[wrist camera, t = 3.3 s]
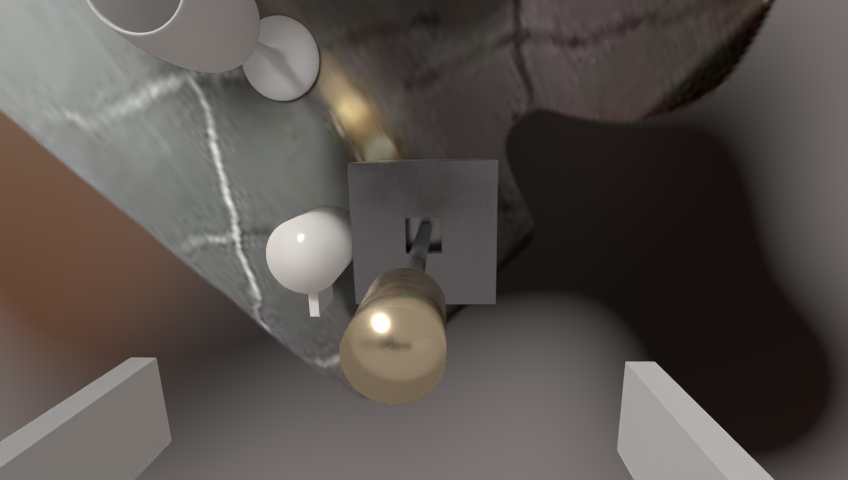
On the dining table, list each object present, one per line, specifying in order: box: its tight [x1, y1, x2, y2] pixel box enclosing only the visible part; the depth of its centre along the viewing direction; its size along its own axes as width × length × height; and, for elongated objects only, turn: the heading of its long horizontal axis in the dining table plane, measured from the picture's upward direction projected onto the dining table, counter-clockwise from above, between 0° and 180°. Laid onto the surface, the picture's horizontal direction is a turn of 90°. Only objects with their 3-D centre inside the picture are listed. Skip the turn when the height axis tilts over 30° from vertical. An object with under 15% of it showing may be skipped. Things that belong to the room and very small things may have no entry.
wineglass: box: [87, 0, 319, 101], centre depth 33 cm, size 9×9×21 cm
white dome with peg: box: [266, 206, 353, 316], centre depth 43 cm, size 8×11×9 cm
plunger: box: [340, 218, 446, 405], centre depth 24 cm, size 9×9×23 cm
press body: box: [347, 158, 498, 304], centre depth 39 cm, size 12×12×14 cm
